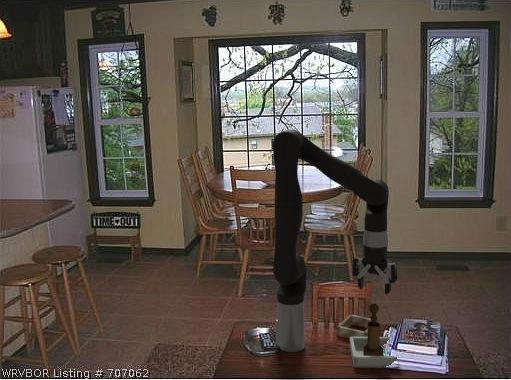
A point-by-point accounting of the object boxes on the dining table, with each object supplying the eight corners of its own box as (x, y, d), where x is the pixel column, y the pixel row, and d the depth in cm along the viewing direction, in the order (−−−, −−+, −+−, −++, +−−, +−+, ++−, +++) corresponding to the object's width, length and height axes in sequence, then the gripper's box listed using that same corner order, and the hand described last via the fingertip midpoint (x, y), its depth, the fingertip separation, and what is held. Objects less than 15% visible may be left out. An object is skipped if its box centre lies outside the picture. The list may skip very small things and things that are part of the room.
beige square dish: (337, 335, 190) (337, 326, 189) (350, 322, 200) (350, 314, 199) (366, 342, 184) (366, 333, 183) (377, 329, 194) (378, 320, 193)
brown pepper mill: (385, 359, 171) (386, 308, 168) (365, 360, 171) (366, 308, 168) (380, 349, 178) (381, 299, 174) (361, 350, 178) (361, 300, 174)
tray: (353, 367, 168) (353, 357, 167) (349, 346, 182) (349, 336, 181) (398, 368, 167) (398, 357, 166) (390, 346, 181) (391, 337, 180)
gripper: (349, 242, 167) (348, 290, 171) (393, 249, 160) (391, 299, 163) (358, 237, 174) (357, 283, 177) (401, 243, 166) (399, 291, 169)
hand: (374, 291), depth 170 cm, fingers open, 8 cm apart
